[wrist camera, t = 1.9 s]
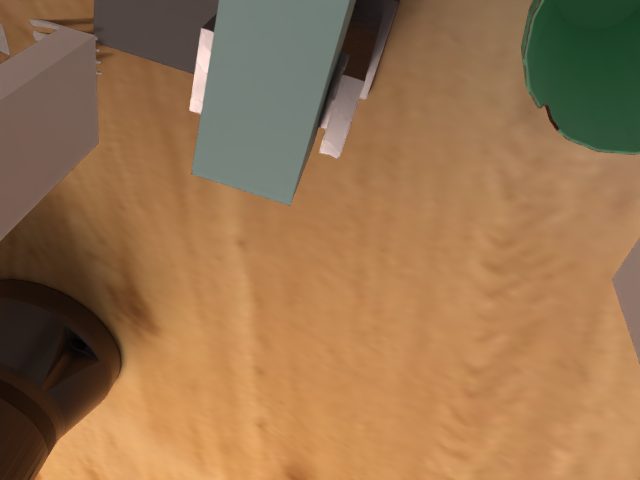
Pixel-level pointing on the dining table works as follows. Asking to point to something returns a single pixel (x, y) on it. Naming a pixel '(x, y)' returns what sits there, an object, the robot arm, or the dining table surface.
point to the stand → (350, 75)
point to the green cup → (586, 70)
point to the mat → (154, 28)
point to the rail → (267, 91)
